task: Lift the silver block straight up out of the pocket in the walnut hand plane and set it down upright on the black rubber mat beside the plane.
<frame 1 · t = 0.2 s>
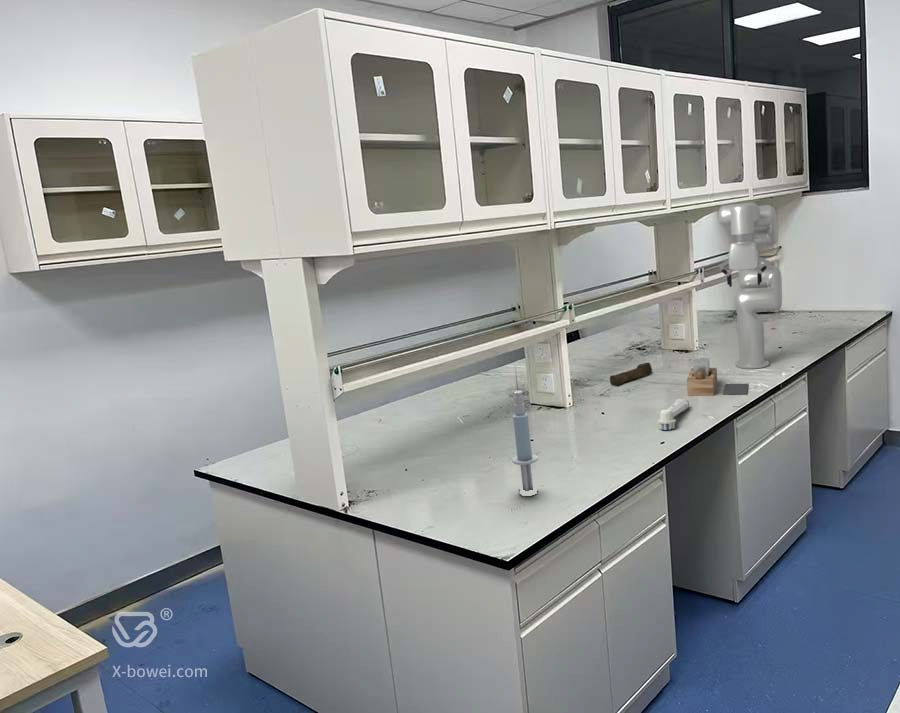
hand: (744, 285, 262), 36 cm above the worktop, tool pointing down, fingers open, 9 cm apart
electric toothbrush: (674, 420, 235), on the worktop
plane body: (702, 389, 265), on the worktop
rubber mat: (735, 389, 260), on the worktop
syringe: (528, 493, 189), on the worktop
silver block: (702, 381, 265), point 3 cm above the worktop, touching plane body
hand tool: (632, 380, 292), on the worktop
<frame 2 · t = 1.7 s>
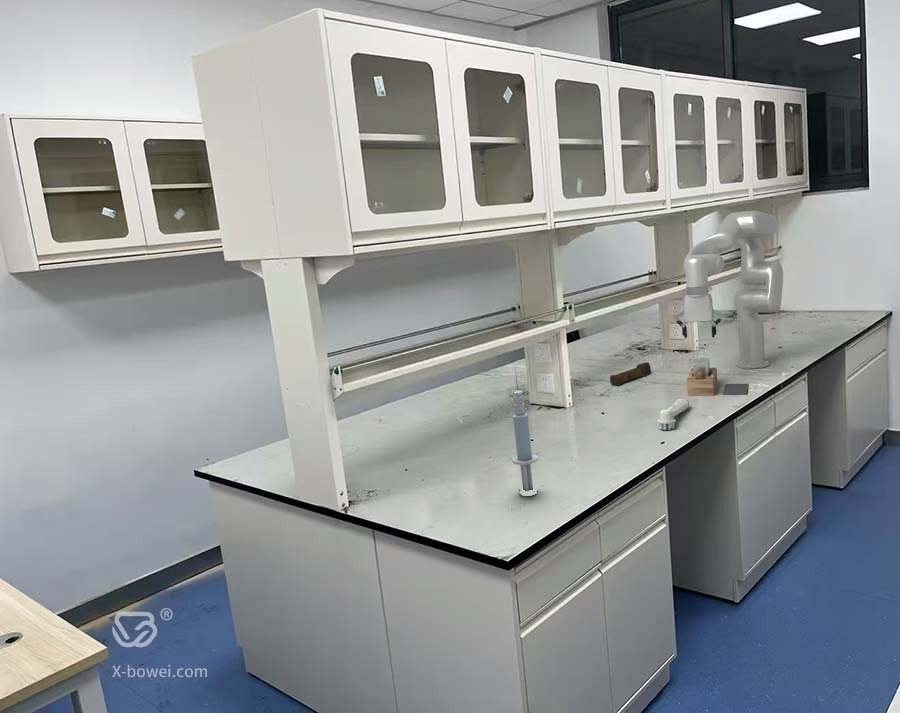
hand: (699, 337, 261), 20 cm above the worktop, tool pointing down, fingers open, 9 cm apart
nothing on the worktop moved.
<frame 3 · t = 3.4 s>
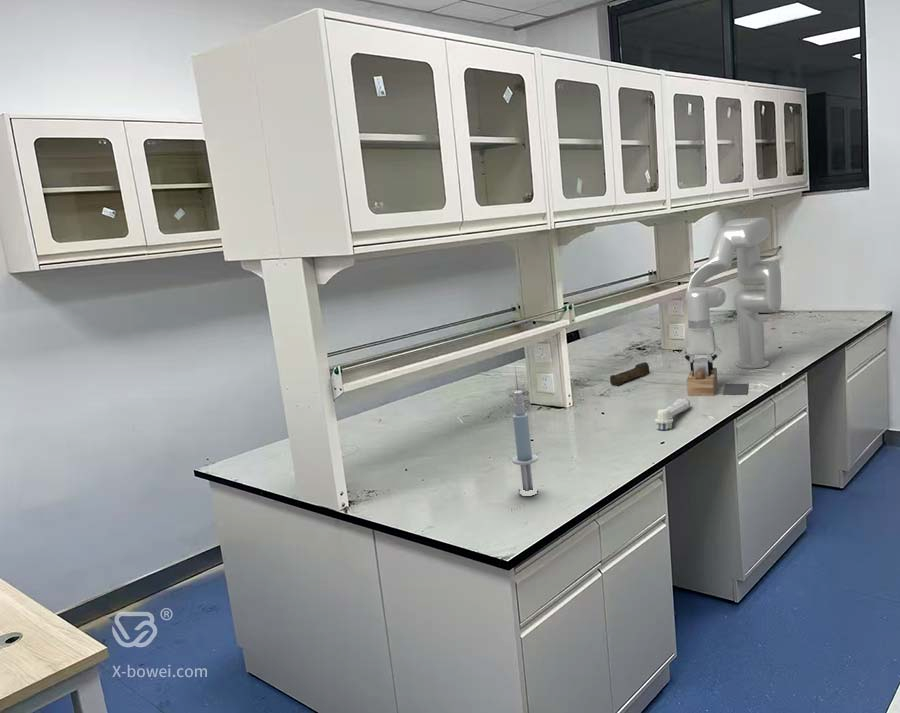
hand: (701, 371, 264), 7 cm above the worktop, tool pointing down, fingers closed on silver block, 5 cm apart
silver block: (702, 381, 265), point 3 cm above the worktop, touching gripper, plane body
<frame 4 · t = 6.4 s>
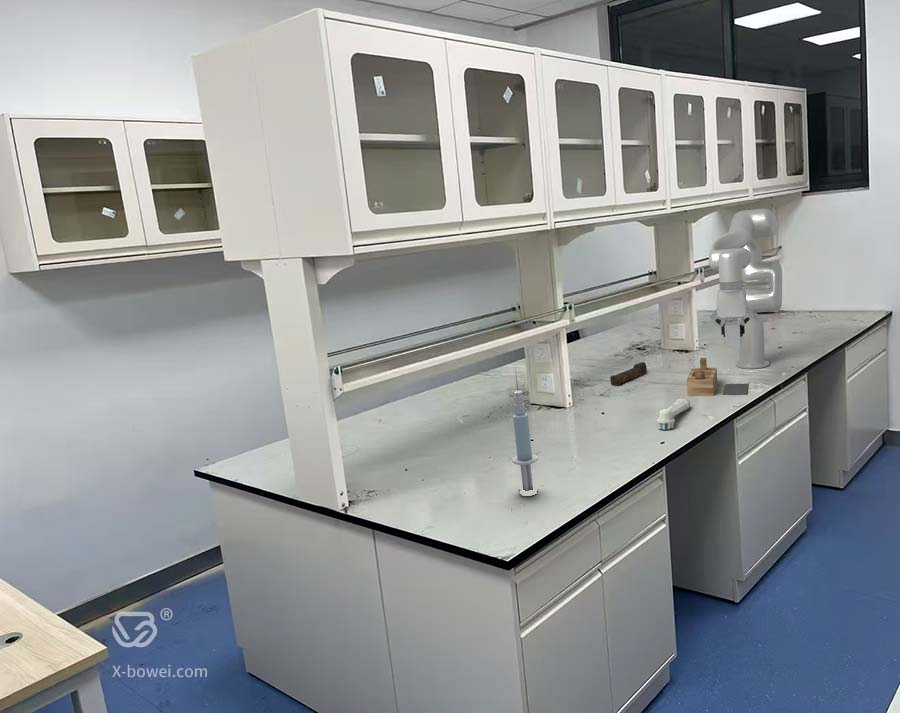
hand: (733, 335, 256), 20 cm above the worktop, tool pointing down, fingers closed on silver block, 5 cm apart
silver block: (733, 345, 257), point 16 cm above the worktop, touching gripper
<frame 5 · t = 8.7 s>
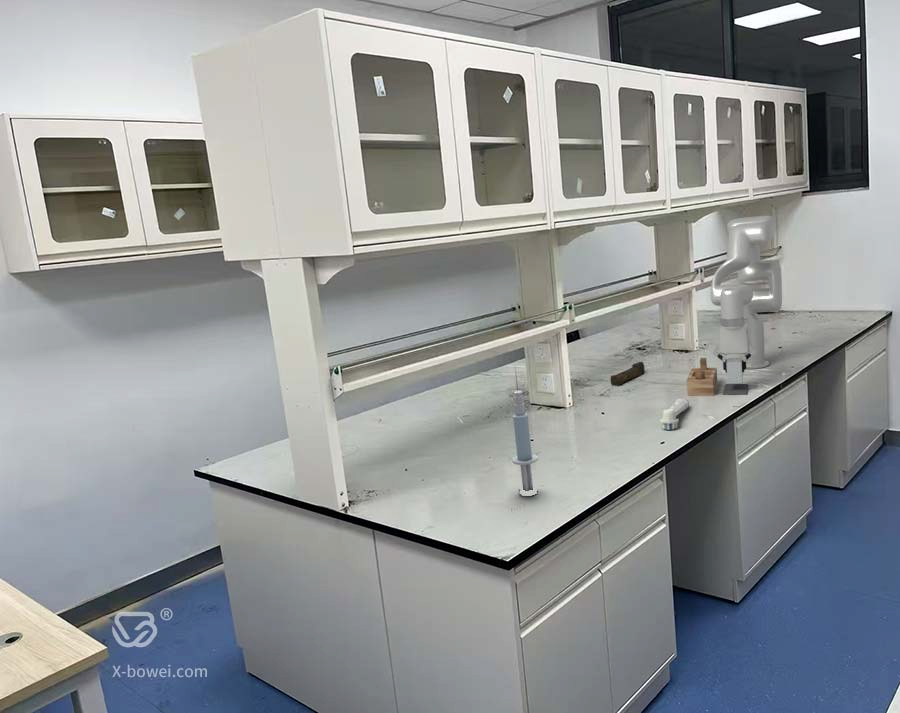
hand: (734, 371, 258), 7 cm above the worktop, tool pointing down, fingers closed on silver block, 5 cm apart
silver block: (735, 381, 259), point 3 cm above the worktop, touching gripper
when the fingers open (6 cm above the worktop, at t = 9.4 s): silver block drops 2 cm, resting on rubber mat.
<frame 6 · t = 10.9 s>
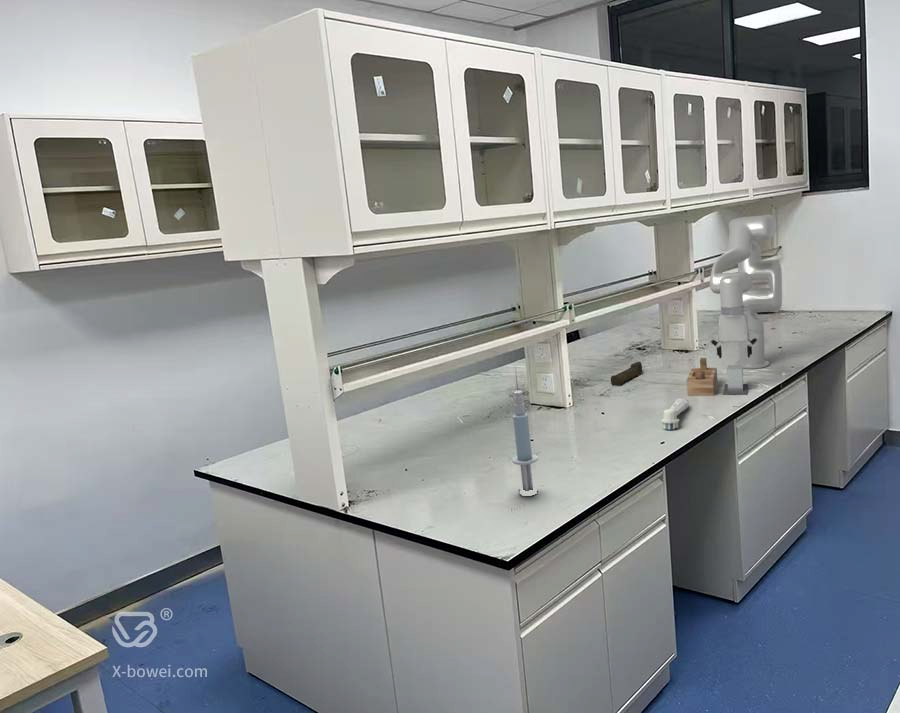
hand: (734, 356, 258), 12 cm above the worktop, tool pointing down, fingers open, 9 cm apart
silver block: (735, 388, 260), resting on rubber mat
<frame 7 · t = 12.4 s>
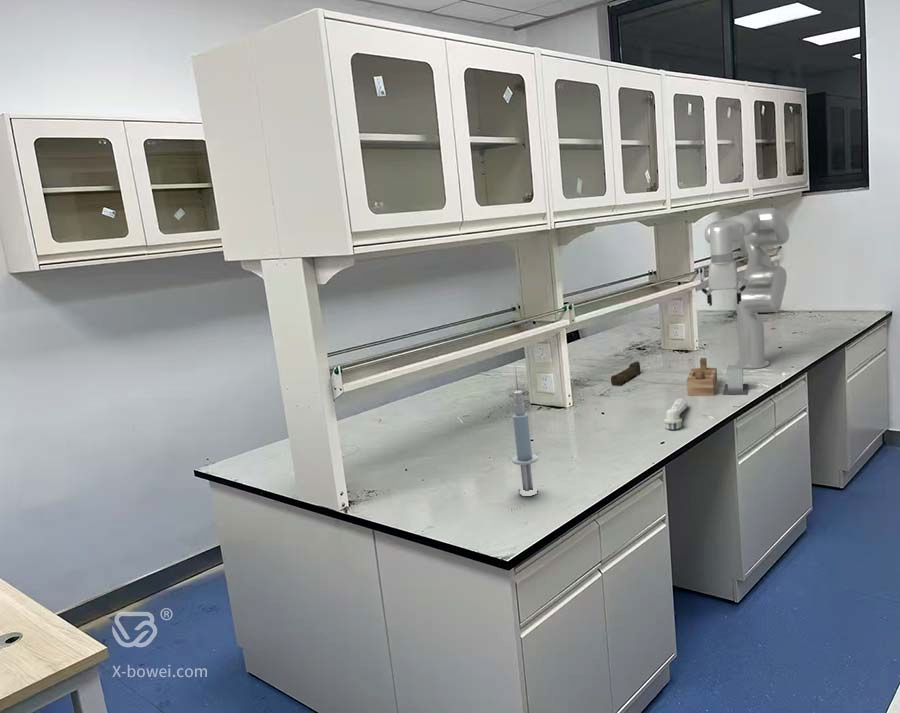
hand: (724, 304, 266), 30 cm above the worktop, tool pointing down, fingers open, 9 cm apart
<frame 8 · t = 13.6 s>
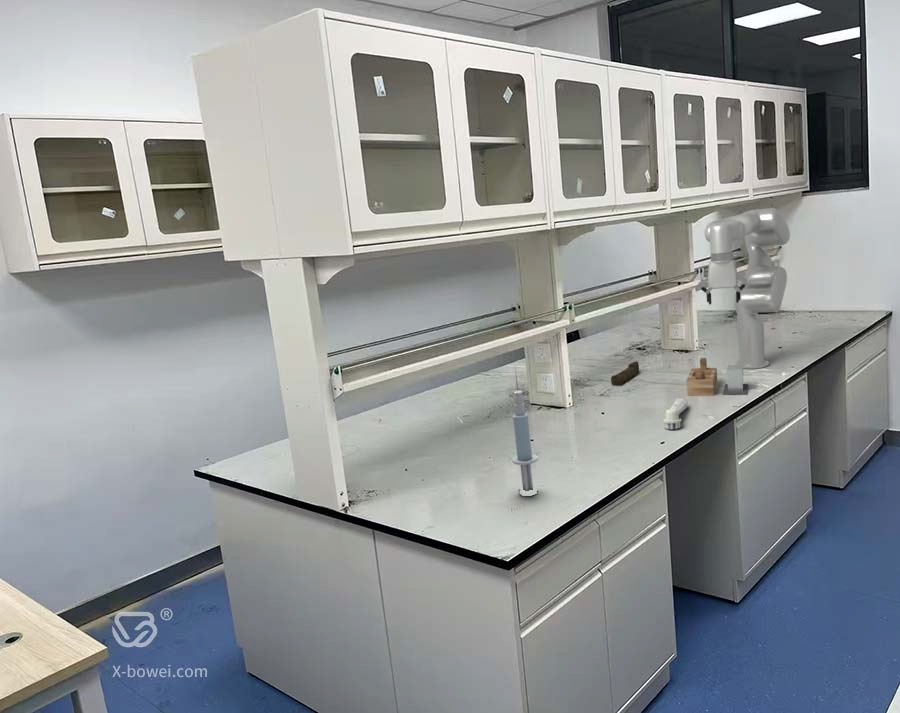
hand: (723, 303, 266), 30 cm above the worktop, tool pointing down, fingers open, 9 cm apart
at the end: silver block inside the target area on the rubber mat (0.1 cm from its centre), point 0.4 cm above the rubber mat's base; silver block tilted 0°; the gripper is holding nothing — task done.
